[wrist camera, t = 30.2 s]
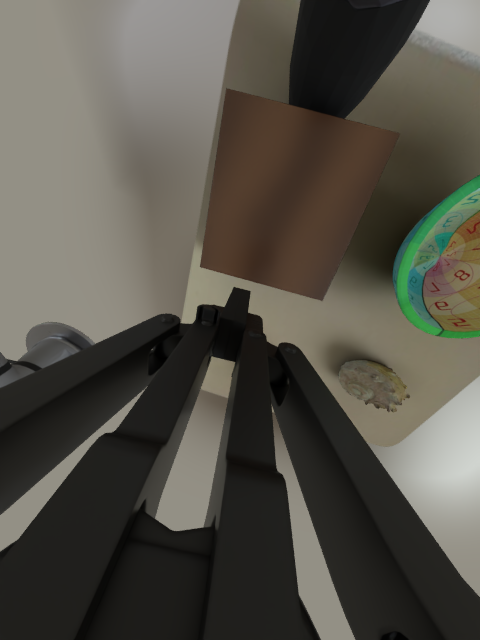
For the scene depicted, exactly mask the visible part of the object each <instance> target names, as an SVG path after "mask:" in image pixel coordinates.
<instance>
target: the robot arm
mask: <svg viewBox="0 0 480 640" xmlns="http://www.w3.org/2000/svg"><path fill="white" fill-rule="evenodd" d="M250 292H251V291H248V290H244V289H240V288H236V287H234V288H233V290H232V292H231V294H230V297H229V299H228V301H227V303H226V305H225V307H221V306H217V305H204V304H203V305H199V306H198V307H197V314H196V320H195V321H194V323H193V324H182V323H180V318H179V317H177V316H176V315H172V314H160V315H157V316H155V317H153V318H151V319H148V320H146V321H144V322H142V323H140V324H138V325H136V326H133V327H131V328H129V329H127V330H125V331H123V332H120V333H118V334H116V335H114V336H112V337H109V338H107V339H105V340H103V341H101V342H99V343H96V344H94V345H92V346H90V347H88V348H86V349H83V350H82V349H81V348H80V347H79V346H77V345H76V344H74V343H73V342H71V341H69V340H67V339H64V338H61V337H54V336H53V337H47V338H45V339H43V340H41V341H39V342H38V343H36V344H35V345H34V346H33V347H32V349H31V350H29V351H28V352H27V353H26V354H25V355H24V356H22V357H21V358H20V359H19V360H18V361H13V360H8V359H6V358H5V357H4V356H3V355H2V354H1V353H0V515H1V514H2V513H3V512H4V511H6V510H7V509H8V508H9V507H10V506H11V505H12V504H14V503H15V502H16V501H17V500H18V499H19V498H20V497H22V496H23V495H24V494H25V493H26V492H27V491H28V490H30V489H31V488H32V487H33V486H34V485H35V484H36V483H37V482H39V481H40V480H41V479H42V478H43V477H44V476H45V475H47V474H48V473H49V472H50V471H51V470H52V469H54V468H55V467H56V466H57V465H58V464H59V463H60V462H61V461H63V460H64V459H65V458H66V457H67V456H68V455H69V454H71V453H72V452H73V451H74V450H75V449H76V448H77V447H79V446H80V445H81V444H82V443H83V442H84V441H85V440H87V439H88V438H89V437H90V436H91V435H92V434H93V433H94V432H96V430H98V429H99V428H100V427H101V426H102V425H104V424H105V423H106V422H107V421H108V420H109V419H110V418H112V417H113V416H114V415H115V414H116V413H117V412H118V411H120V410H121V409H122V408H123V407H124V406H125V405H126V404H127V403H129V402H130V401H131V400H132V399H133V398H134V397H136V396H137V395H138V394H139V393H140V392H141V391H142V390H144V389H145V388H146V387H147V386H148V387H147V388H146V389H145V391H144V392H143V394H142V395H141V396H140V398H139V399H138V400H137V402H136V403H135V405H134V406H133V408H132V409H131V410H130V412H129V413H128V415H127V416H126V417H125V419H124V420H123V421H122V423H121V424H120V426H119V427H118V428H117V429H116V430H115V431H114V432H112V433H105V434H103V435H102V436H101V437H99V438H98V439H97V440H96V441H95V443H94V444H93V445H92V446H91V447H90V448H89V450H88V451H87V452H86V454H85V455H84V456H83V457H82V459H81V460H80V461H79V463H78V464H77V465H76V466H75V467H74V469H73V470H72V471H71V473H70V474H69V475H68V476H67V478H66V479H65V480H64V482H63V483H62V484H61V485H60V487H59V488H58V489H57V490H56V492H55V493H54V494H53V496H52V497H51V498H50V499H49V501H48V502H47V503H46V504H45V506H44V507H43V508H42V510H41V511H40V512H39V513H38V515H37V516H36V517H35V519H34V520H33V521H32V522H31V524H30V525H29V526H28V527H27V529H26V530H25V531H24V533H23V534H22V535H21V536H20V538H19V539H18V540H17V541H15V542H14V543H12V544H10V545H9V546H8V547H6V548H5V549H4V550H2V551H1V552H0V640H321V639H320V637H319V635H318V633H317V631H316V628H315V627H314V625H313V622H312V620H311V618H310V616H309V614H308V612H307V610H306V608H305V606H304V604H303V602H302V600H301V598H300V596H299V594H298V585H297V576H296V567H295V558H294V548H293V539H292V531H291V522H290V513H289V503H288V494H287V488H286V482H285V479H284V477H283V475H282V474H281V473H279V472H278V471H277V468H276V460H275V446H274V433H273V420H272V406H273V409H274V412H275V415H276V417H277V421H278V423H279V427H280V429H281V432H282V435H283V438H284V441H285V444H286V447H287V450H288V453H289V456H290V459H291V461H292V465H293V467H294V470H295V473H296V476H297V479H298V482H299V485H300V488H301V491H302V494H303V497H304V500H305V503H306V505H307V508H308V511H309V514H310V517H311V520H312V523H313V526H314V529H315V532H316V535H317V537H318V540H319V544H320V546H321V549H322V552H323V555H324V558H325V561H326V564H327V567H328V569H329V573H330V576H331V578H332V581H333V584H334V587H335V590H336V592H337V595H338V597H339V600H340V603H341V606H342V608H343V611H344V614H345V616H346V619H347V621H348V623H349V625H350V628H351V630H352V633H353V635H354V637H355V639H356V640H480V597H479V596H478V595H477V594H476V593H475V592H474V590H473V589H472V588H471V587H470V586H469V585H468V584H467V583H466V582H465V581H464V579H463V578H462V577H461V576H460V574H459V573H458V571H457V570H456V568H455V567H454V566H453V564H452V563H451V561H450V560H449V559H448V557H447V556H446V554H445V553H444V551H443V550H442V549H441V547H440V546H439V544H438V543H437V542H436V540H435V539H434V537H433V536H432V535H431V533H430V532H429V530H428V529H427V527H426V526H425V525H424V523H423V522H422V520H421V519H420V518H419V516H418V515H417V513H416V512H415V511H414V509H413V508H412V506H411V505H410V504H409V502H408V501H407V499H406V498H405V497H404V495H403V494H402V492H401V491H400V489H399V488H398V487H397V485H396V484H395V482H394V481H393V480H392V478H391V477H390V475H389V474H388V472H387V471H386V470H385V468H384V467H383V466H382V464H381V463H380V461H379V460H378V458H377V457H376V456H375V454H374V453H373V451H372V450H371V449H370V447H369V446H368V444H367V443H366V441H365V440H364V439H363V437H362V436H361V434H360V433H359V432H358V430H357V429H356V427H355V426H354V425H353V423H352V422H351V420H350V419H349V417H348V416H347V415H346V413H345V412H344V410H343V409H342V408H341V406H340V405H339V403H338V402H337V401H336V399H335V398H334V396H333V395H332V394H331V392H330V391H329V389H328V388H327V386H326V385H325V384H324V382H323V381H322V379H321V378H320V377H319V375H318V374H317V372H316V371H315V370H314V368H313V367H312V365H311V364H310V362H309V361H308V360H307V358H306V357H305V355H304V354H303V353H302V351H301V350H300V349H299V348H298V347H296V346H295V345H293V344H291V343H280V344H279V345H278V347H277V346H274V345H272V344H270V343H269V342H267V339H266V335H265V334H264V333H263V321H262V318H261V317H260V316H258V315H254V314H250V313H248V307H249V299H250ZM152 349H153V350H152ZM212 353H213V354H212ZM212 356H213V357H217V358H221V359H225V360H229V361H233V362H235V366H234V369H233V373H232V376H231V377H232V381H231V387H230V392H229V398H228V404H227V409H226V414H225V419H224V425H223V430H222V436H221V442H220V447H219V452H218V458H217V463H216V469H215V474H214V479H213V485H212V491H211V496H210V501H209V506H208V511H207V515H206V519H205V524H204V528H197V529H191V530H184V531H172V530H170V529H169V528H167V527H166V526H164V525H163V524H162V523H160V522H159V521H157V520H156V519H155V516H156V513H157V509H158V505H159V502H160V498H161V495H162V492H163V489H164V487H165V484H166V481H167V478H168V476H169V473H170V470H171V468H172V464H173V462H174V459H175V456H176V454H177V451H178V449H179V445H180V443H181V440H182V437H183V435H184V432H185V429H186V427H187V424H188V421H189V418H190V416H191V413H192V410H193V407H194V405H195V402H196V399H197V397H198V394H199V391H200V389H201V386H202V383H203V380H204V378H205V375H206V372H207V370H208V367H209V364H210V361H211V357H212ZM10 363H12V364H10ZM271 403H272V406H271Z"/></svg>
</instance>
